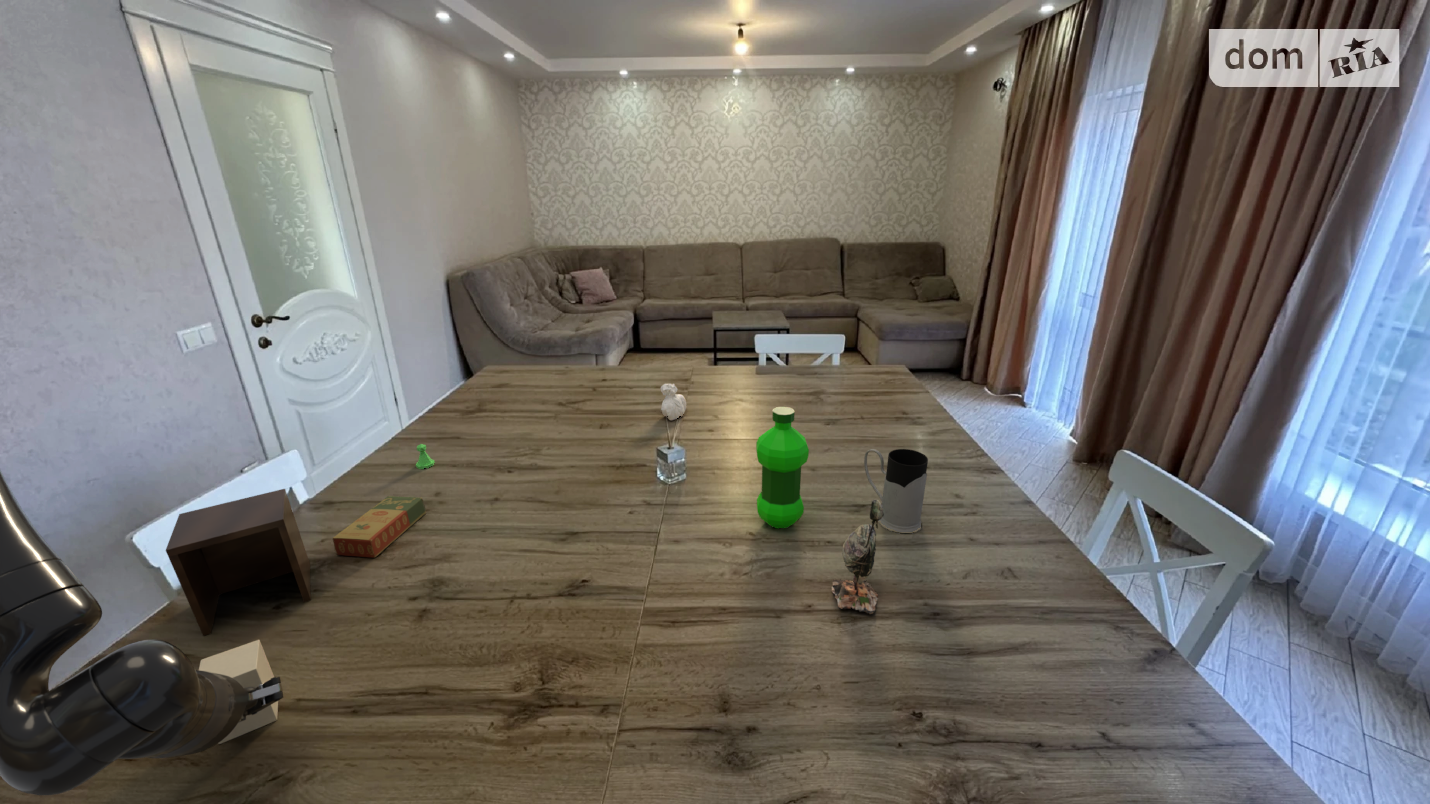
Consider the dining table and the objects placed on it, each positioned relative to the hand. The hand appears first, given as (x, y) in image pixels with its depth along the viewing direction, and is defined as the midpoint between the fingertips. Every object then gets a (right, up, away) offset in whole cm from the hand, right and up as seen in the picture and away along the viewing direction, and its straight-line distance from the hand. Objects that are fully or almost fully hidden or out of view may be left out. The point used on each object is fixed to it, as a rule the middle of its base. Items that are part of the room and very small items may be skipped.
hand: (237, 713), depth 69 cm
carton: (-7, +12, +43) cm, 46 cm away
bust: (+47, +35, +101) cm, 116 cm away
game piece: (-14, +23, +71) cm, 76 cm away
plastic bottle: (+73, +14, +46) cm, 88 cm away
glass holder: (+97, +15, +47) cm, 109 cm away
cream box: (-2, -3, +4) cm, 5 cm away
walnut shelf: (-18, +6, +26) cm, 32 cm away
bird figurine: (+84, +6, +25) cm, 88 cm away
